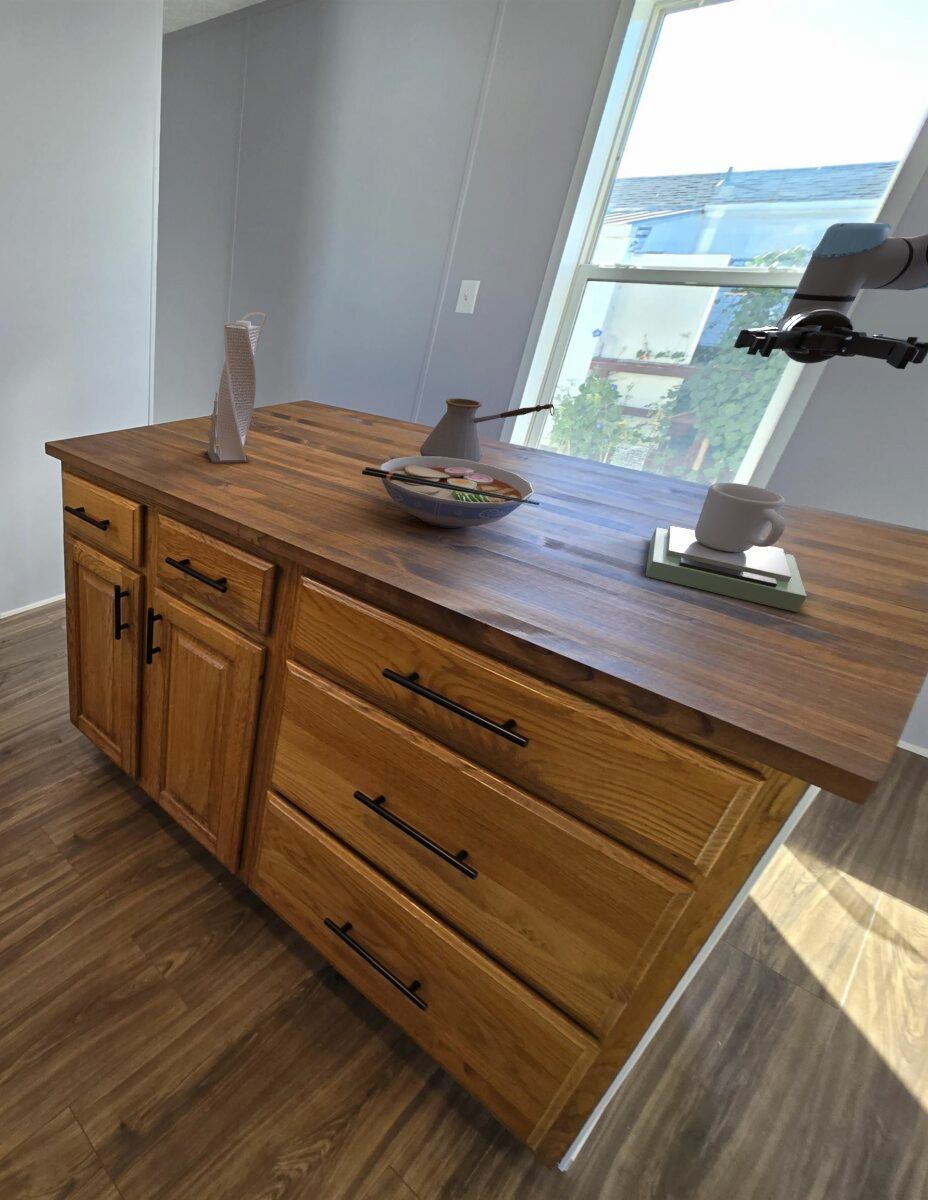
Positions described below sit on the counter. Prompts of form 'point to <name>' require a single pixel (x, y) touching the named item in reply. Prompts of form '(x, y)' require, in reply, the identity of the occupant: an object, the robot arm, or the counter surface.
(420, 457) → the ramen bowl
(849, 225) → the robot arm
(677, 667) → the counter surface
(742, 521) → the cup
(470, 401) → the coffee pot
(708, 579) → the scale
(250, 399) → the skyscraper
